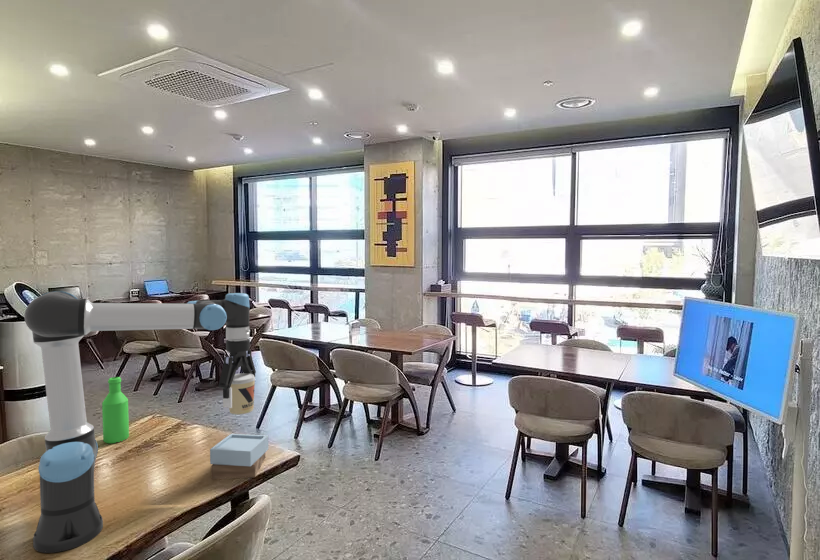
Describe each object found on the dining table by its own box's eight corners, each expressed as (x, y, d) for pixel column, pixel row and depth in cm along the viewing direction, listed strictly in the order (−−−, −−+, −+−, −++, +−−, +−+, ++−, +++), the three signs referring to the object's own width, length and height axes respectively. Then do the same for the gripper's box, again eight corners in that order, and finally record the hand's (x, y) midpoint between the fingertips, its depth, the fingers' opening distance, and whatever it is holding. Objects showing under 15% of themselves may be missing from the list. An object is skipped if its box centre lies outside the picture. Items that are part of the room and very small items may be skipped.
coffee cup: (243, 417, 158) (242, 381, 157) (221, 413, 161) (219, 379, 160) (261, 408, 166) (260, 374, 165) (239, 404, 169) (238, 371, 168)
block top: (250, 466, 155) (250, 451, 155) (210, 464, 157) (210, 449, 157) (268, 449, 169) (268, 435, 169) (231, 447, 171) (231, 433, 170)
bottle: (127, 434, 195) (125, 374, 194) (131, 440, 188) (129, 378, 187) (101, 439, 189) (99, 377, 188) (104, 446, 183) (103, 382, 181)
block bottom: (255, 479, 157) (254, 464, 156) (211, 480, 156) (211, 465, 155) (265, 461, 170) (265, 447, 170) (225, 462, 170) (225, 448, 169)
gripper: (228, 346, 147) (228, 413, 148) (265, 333, 172) (265, 392, 173) (206, 345, 148) (206, 412, 149) (245, 333, 173) (246, 390, 174)
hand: (238, 401), depth 161 cm, fingers open, 13 cm apart
